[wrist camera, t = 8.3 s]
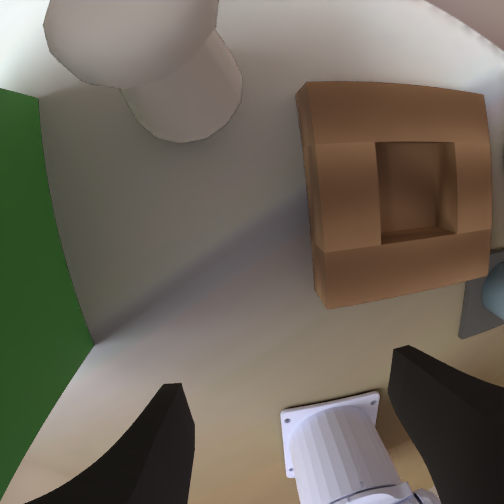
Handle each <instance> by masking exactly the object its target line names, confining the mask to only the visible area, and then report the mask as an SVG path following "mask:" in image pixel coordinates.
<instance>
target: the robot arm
mask: <svg viewBox="0 0 504 504" xmlns="http://www.w3.org/2000/svg"><path fill="white" fill-rule="evenodd" d="M388 395H389V398H390V400H391V403H392V405H393V408H394V410H395V412H396V414H397V416H398V418H399V420H400V421H401V423H402V425H403V426H404V428H405V430H406V431H407V433H408V435H409V436H410V438H411V440H412V441H413V443H414V445H415V446H416V448H417V450H418V451H419V453H420V455H421V456H422V458H423V460H424V462H425V464H426V466H427V468H428V470H429V472H430V475H431V477H432V480H433V482H434V484H435V487H436V489H437V492H438V495H439V498H440V500H439V499H438V497H437V496H436V495H435V494H434V493H433V492H431V491H428V490H425V489H423V488H420V489H417V490H416V491H414V492H412V490H411V488H410V486H409V484H408V482H404V483H402V481H401V479H400V476H399V474H398V472H397V470H396V468H395V466H394V464H393V462H392V460H391V458H390V456H389V454H388V452H387V450H386V448H385V446H384V444H383V442H382V440H381V438H380V436H379V434H378V432H377V430H376V428H375V424H376V418H377V412H378V405H379V398H380V395H379V393H378V392H377V391H373V392H369V393H365V394H360V395H356V396H352V397H348V398H343V399H339V400H334V401H329V402H324V403H319V404H314V405H308V406H303V407H297V408H291V409H285V410H283V411H282V412H281V414H280V415H281V425H282V435H283V445H284V455H285V465H286V475H287V477H289V478H294V477H295V479H296V484H297V488H298V493H299V498H300V503H301V504H504V388H503V387H500V386H497V385H493V384H490V383H488V382H485V381H482V380H480V379H477V378H475V377H473V376H470V375H468V374H466V373H463V372H461V371H459V370H457V369H455V368H453V367H451V366H449V365H447V364H445V363H443V362H441V361H439V360H437V359H435V358H433V357H431V356H430V355H428V354H426V353H424V352H422V351H420V350H418V349H416V348H414V347H411V346H409V345H407V346H404V347H400V348H396V349H393V358H392V365H391V373H390V380H389V386H388ZM372 401H373V402H372ZM286 419H288V420H286ZM194 451H195V424H194V421H193V418H192V415H191V412H190V409H189V406H188V403H187V400H186V397H185V394H184V391H183V387H182V384H181V383H173V384H163V385H162V387H161V388H160V389H159V390H158V392H157V393H156V394H155V396H154V397H153V398H152V400H151V401H150V402H149V404H148V405H147V406H146V408H145V409H144V410H143V412H142V413H141V414H140V415H139V417H138V418H137V419H136V420H135V422H134V423H133V424H132V425H131V426H130V428H129V429H128V430H127V431H126V432H125V433H124V434H123V435H122V437H121V438H120V439H119V440H118V441H117V442H116V443H115V444H114V445H113V446H112V447H111V448H110V449H109V450H108V451H107V452H106V453H105V454H104V455H103V456H102V457H100V458H99V459H98V460H97V461H96V462H95V463H93V464H92V465H91V466H90V467H88V468H87V469H86V470H84V471H83V472H81V473H80V474H79V475H77V476H76V477H74V478H73V479H72V480H70V481H69V482H67V483H65V484H64V485H62V486H60V487H59V488H57V489H55V490H53V491H52V492H49V493H48V494H46V495H43V496H41V497H39V498H37V499H34V500H32V501H30V502H27V503H25V504H187V502H188V494H189V487H190V480H191V473H192V466H193V458H194Z"/></svg>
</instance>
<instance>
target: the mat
mask: <svg viewBox="0 0 504 504" xmlns="http://www.w3.org/2000/svg"><path fill="white" fill-rule="evenodd" d="M500 263H504V249H499V250H494V251H490V258H489V268H488V274H489V273H490V271H491V270H492V269H493V268H494V267H495V266H496V265H498V264H500ZM486 278H487V276H484V277H480V278H476V279H472V280H468V281H466V287H465V295H464V303H463V310H462V316H461V323H460V328H459V334H458V337H460V338H461V339H465V338H468V337H470V336H473V335H476V334H479V333H481V332H484V331H487V330H489V329H492V328H495V327H497V326H500V325H502V324H504V320H503V319H501V318H500V317H498V316H496V315H495V314H493V313H492V312H490V311H489V310H487V309H486V308H485V307H484V305H483V301H482V291H483V286H484V283H485V280H486Z"/></svg>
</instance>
